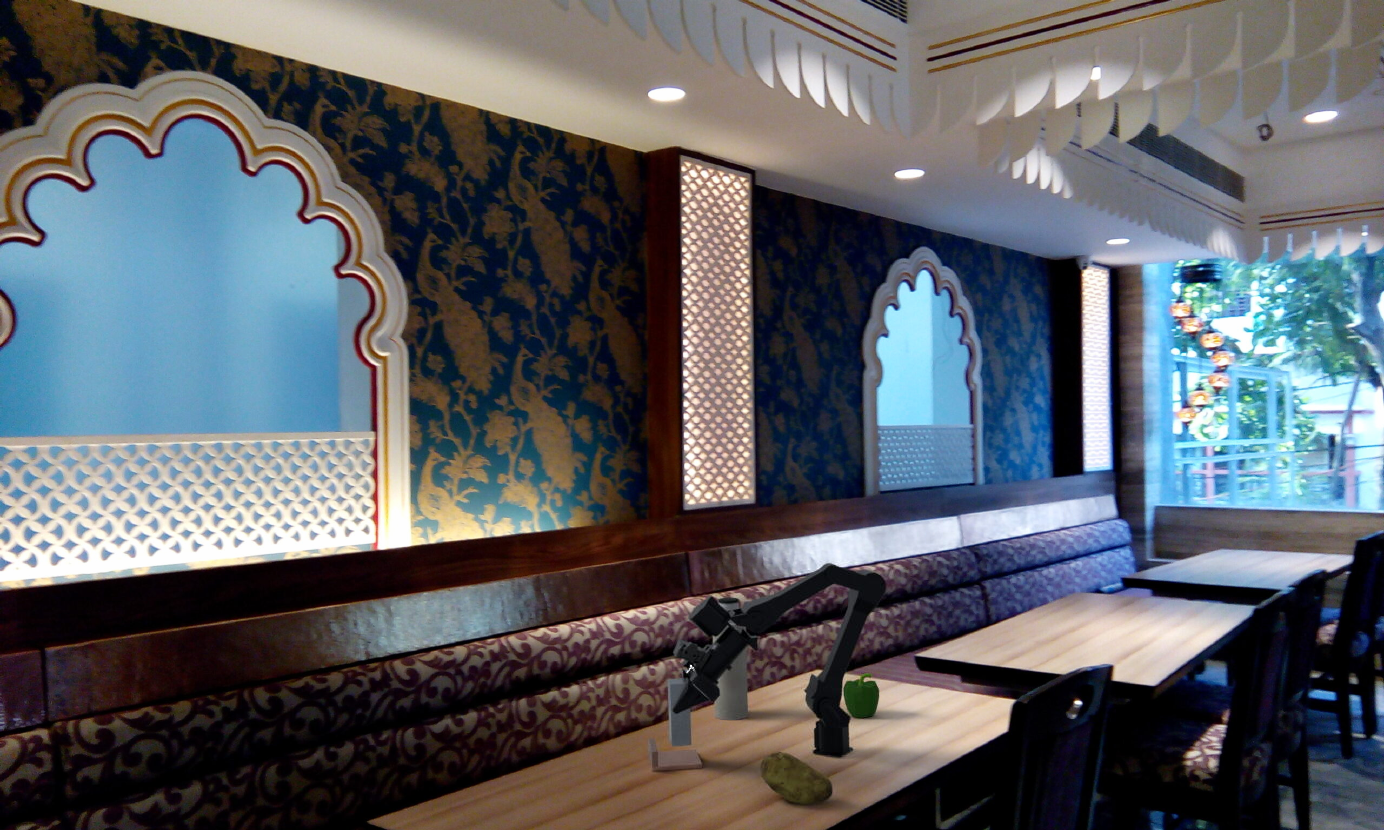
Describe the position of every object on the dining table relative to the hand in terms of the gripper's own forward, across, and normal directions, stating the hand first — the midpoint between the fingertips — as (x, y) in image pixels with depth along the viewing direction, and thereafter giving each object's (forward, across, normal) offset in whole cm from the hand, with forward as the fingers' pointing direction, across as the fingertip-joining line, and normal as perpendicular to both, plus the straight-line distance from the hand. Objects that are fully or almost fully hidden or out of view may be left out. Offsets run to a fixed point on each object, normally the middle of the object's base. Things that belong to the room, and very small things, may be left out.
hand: (672, 708), depth 209 cm
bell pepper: (-25, -26, +42) cm, 55 cm away
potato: (-6, +26, +22) cm, 35 cm away
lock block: (+4, 0, +6) cm, 7 cm away
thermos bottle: (-4, -33, +20) cm, 39 cm away
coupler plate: (+8, 0, +8) cm, 11 cm away
